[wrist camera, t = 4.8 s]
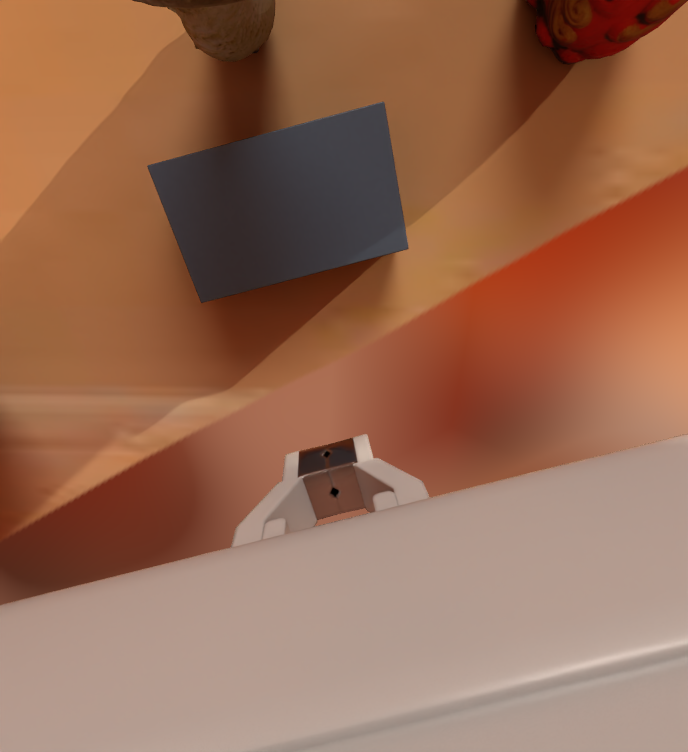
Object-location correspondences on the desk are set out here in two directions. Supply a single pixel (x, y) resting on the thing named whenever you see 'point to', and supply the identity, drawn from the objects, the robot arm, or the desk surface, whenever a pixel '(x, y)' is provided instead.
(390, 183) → the block
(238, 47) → the mushroom
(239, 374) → the desk surface
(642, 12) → the red clay folk toy
